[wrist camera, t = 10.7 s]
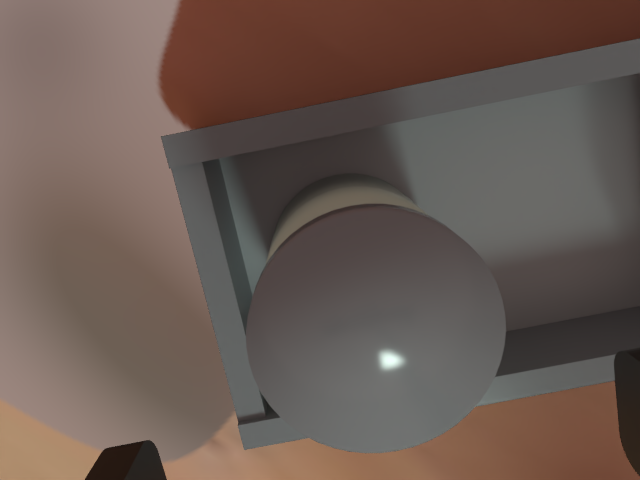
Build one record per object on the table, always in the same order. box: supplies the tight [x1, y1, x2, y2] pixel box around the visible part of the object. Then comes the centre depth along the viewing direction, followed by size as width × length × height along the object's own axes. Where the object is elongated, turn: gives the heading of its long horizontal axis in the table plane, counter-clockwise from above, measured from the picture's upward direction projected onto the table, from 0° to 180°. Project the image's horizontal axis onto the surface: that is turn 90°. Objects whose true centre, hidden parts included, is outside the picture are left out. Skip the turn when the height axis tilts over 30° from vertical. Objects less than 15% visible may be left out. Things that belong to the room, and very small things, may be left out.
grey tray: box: [161, 38, 640, 450], centre depth 19 cm, size 11×20×4 cm, turn 101°
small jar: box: [246, 173, 506, 453], centre depth 17 cm, size 6×6×8 cm
